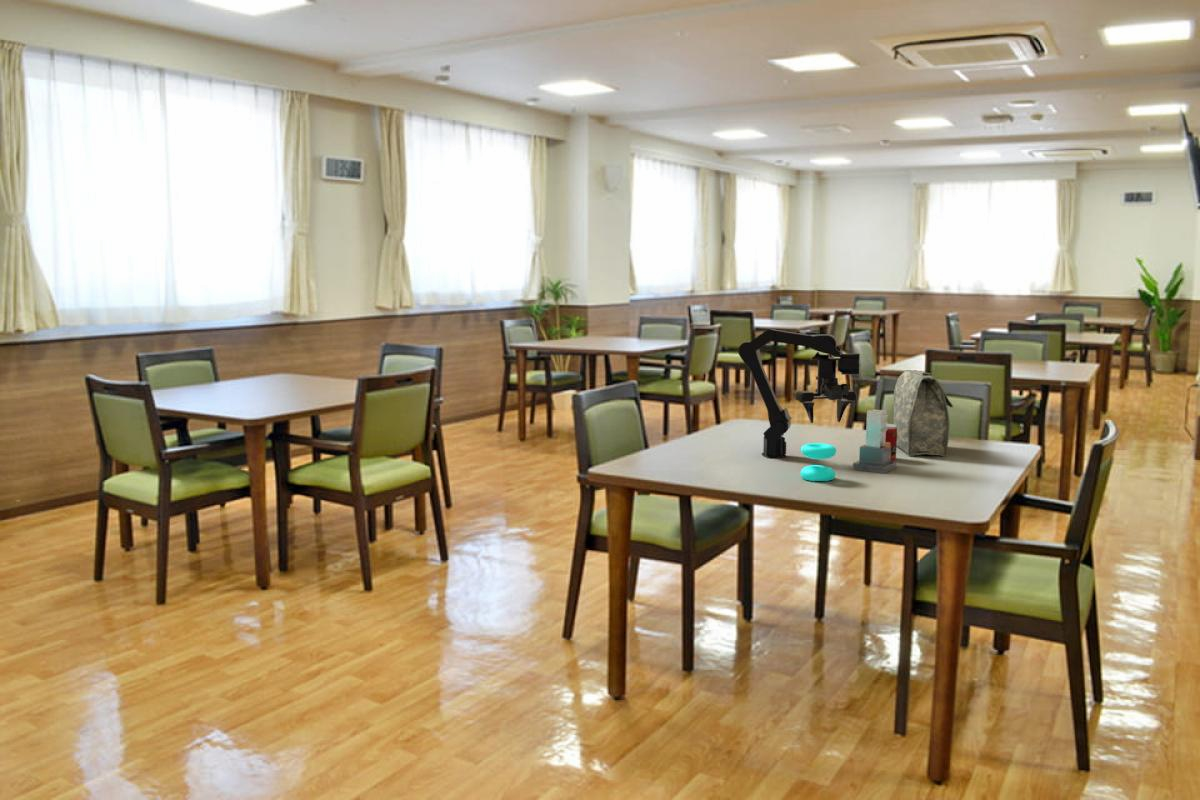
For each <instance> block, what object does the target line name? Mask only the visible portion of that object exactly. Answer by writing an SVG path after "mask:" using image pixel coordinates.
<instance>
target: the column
mask: <svg viewBox="0 0 1200 800" xmlns="http://www.w3.org/2000/svg"><path fill="white" fill-rule="evenodd" d="M887 411H888V410H884V409H874V408H873V409H869V410H867V411H866V430H865V444H866V447H872V448H883V447H884V445H885V441H886V431H887V428H886V424H889V423H888V421H887V419H888V417H889V414H887V413H888V412H887Z"/></svg>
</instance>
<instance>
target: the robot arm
mask: <svg viewBox="0 0 1200 800" xmlns="http://www.w3.org/2000/svg"><path fill="white" fill-rule="evenodd" d="M771 342H775V343H781V344H789V345H794V346H802V347H807V348H808V349H812V350H814V351H817V352H816V353H815V355H813V356H812V357H811V360H813V361H817V375H815V380H816V381H817V382H816V383H817V385H816V386H817V387H816V388H815V392H813V391H809V390H798V391H796V392H795V398H794V399H795V400H796V401H798V402H799V403H801V404H802V405H803V408H804V409H805V411H806V414H807V416H808V419H809V423H811V424H813V423H814V406H815V401H813V400H817V399H818V400H821V399H822V400H824V399H827V400H829V401H835V400H836V419H837V423H840V422H841V421H842V418H843V416H844V413H845V410H846V408H847V407H848V406H849V405H850V404H852V403H853V402H854V401H857V400H858V395H857V392H856V391H854V390H851V389H850V385H849V384H848V383H841V384H839V380H838V377H837V372H839V373H840V374H841V375H846V376H849V375H850V376H860V375H861V365H862V364H861V354H860V353H857V352H855V353H844V352H843V351H842V349H841V348H840V347H839V343H838V339H837V338H836V336H835V335H834V334H831V333H828V334H827V333H826V334H825V333H824V334H823V333H822V334H818V333H817V334H805V333H799V332H793V331H785V330H779V329H778V330H777V329H774V328H770V327H769V328H767V329H765V330H764V331H763V332H762V333H761V334H759V335H757V336H756V337H755V338H753V339H752V340H747V341H745V342H743V343H741V344H740V345H739V346H738V350H737V351H738V355H739V357H740V359H741V360H742V361H743V363H744V364H745V365H746V367H747V369H748V370H749V371H750V372H751V374H752V377H753V379H754V380H753V381H754V382H755V384H756V386H757V389H758V391H759V393H760V397H761V398H762V400H763V402H764V405H765V407H766V410H767V416H768V422H769V423H768V424H769V427H768V428H767V429H766V430H765V431H764V432H763V450H762V451H763V452H761V455H762V456H763V457H766V458H768V459H770V458H771V459H772V458H787V455H786V454H787V442H786V438H785V437H784V436H785V435H784V434H786V433H787V432H788V430H789V429H790V428H791V426H792V421H791V420H792V419H793V417H791V416H790V414H789V410H788V407H785V408H783V407H782V406H781V405H780V403H779V401H778V399H777V397H776V394H775V392H774V390H773V387H772V385H771V382H770V380H769V377H768V375H767V373H766V371H765V369H764V367H763V362H762V361H763V360H762V355H761V354H762V353H761V351H760V350H761V349H762V348H763V347H765V346H767V345H769V343H771ZM821 353H822V354H821ZM830 355H831V356H833V357H831V356H830Z"/></svg>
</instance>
